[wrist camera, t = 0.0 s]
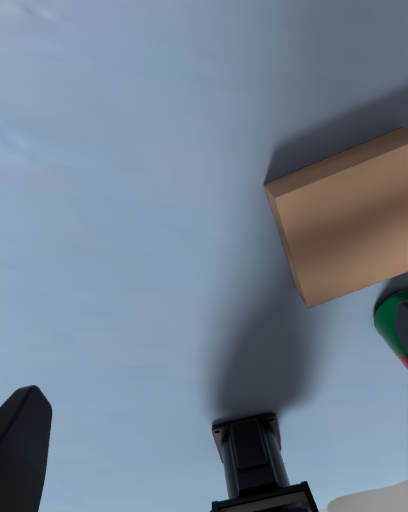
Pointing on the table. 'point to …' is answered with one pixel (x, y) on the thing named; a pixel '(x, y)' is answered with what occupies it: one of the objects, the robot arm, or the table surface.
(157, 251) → the table surface
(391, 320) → the soda can
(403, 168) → the tan block
